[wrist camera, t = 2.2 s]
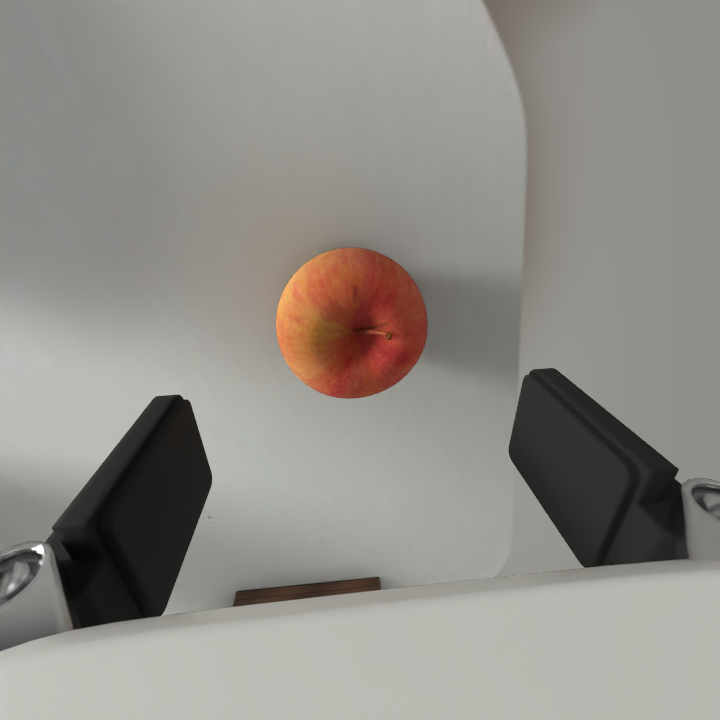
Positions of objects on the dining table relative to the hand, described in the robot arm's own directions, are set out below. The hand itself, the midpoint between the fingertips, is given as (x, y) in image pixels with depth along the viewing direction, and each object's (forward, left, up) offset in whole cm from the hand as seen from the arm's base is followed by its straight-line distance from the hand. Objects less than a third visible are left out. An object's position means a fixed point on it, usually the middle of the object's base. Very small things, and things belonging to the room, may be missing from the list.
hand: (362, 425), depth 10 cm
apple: (0, 0, -13) cm, 13 cm away
